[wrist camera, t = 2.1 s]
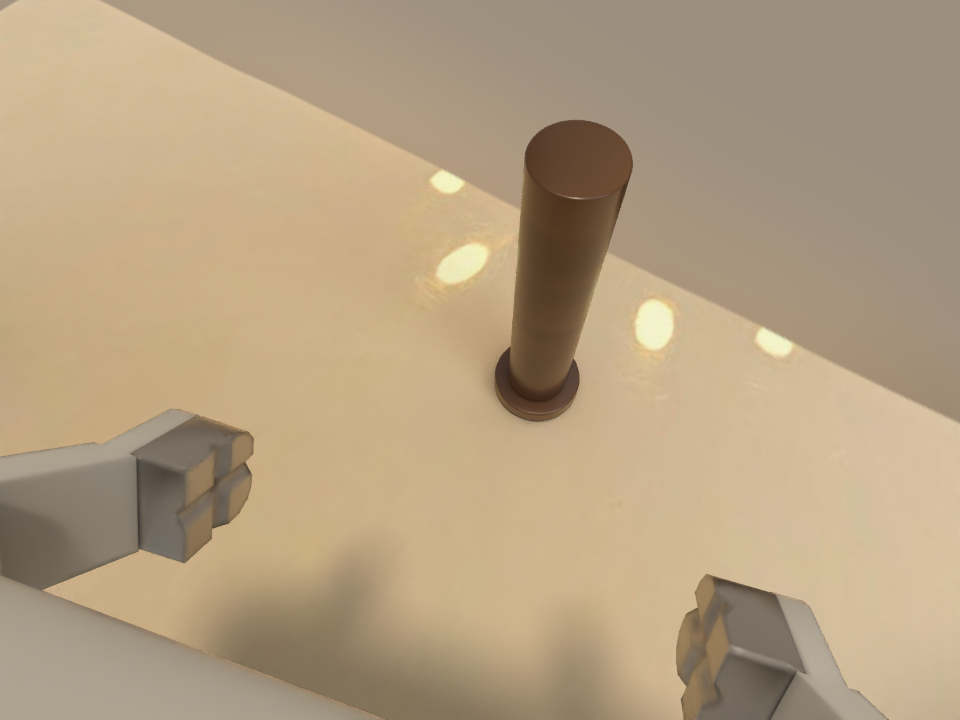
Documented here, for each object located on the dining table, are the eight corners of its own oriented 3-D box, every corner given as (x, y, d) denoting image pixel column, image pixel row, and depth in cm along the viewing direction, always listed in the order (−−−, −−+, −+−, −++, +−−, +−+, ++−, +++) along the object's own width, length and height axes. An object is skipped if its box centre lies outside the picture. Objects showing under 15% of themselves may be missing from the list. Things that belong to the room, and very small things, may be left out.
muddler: (593, 391, 30) (693, 171, 15) (527, 437, 29) (566, 247, 14) (543, 332, 31) (589, 81, 17) (479, 373, 30) (469, 144, 16)
